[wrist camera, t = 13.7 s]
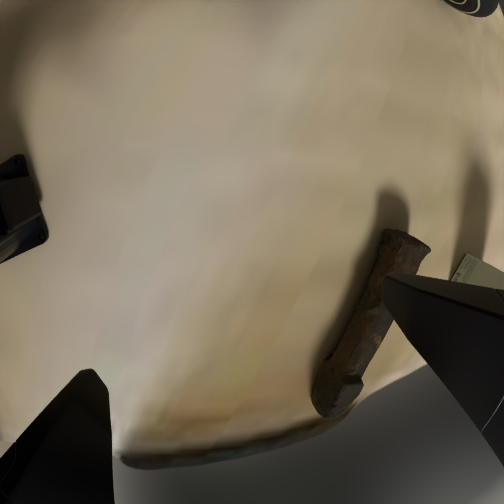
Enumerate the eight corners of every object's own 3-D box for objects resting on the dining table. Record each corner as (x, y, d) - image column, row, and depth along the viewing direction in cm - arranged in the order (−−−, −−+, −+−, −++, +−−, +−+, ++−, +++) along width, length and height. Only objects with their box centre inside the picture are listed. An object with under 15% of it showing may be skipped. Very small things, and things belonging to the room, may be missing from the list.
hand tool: (378, 219, 22) (416, 237, 17) (408, 234, 23) (445, 252, 19) (287, 396, 26) (302, 430, 22) (319, 397, 28) (336, 428, 23)
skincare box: (446, 283, 26) (527, 338, 15) (466, 250, 25) (549, 297, 14) (463, 303, 28) (529, 353, 17) (480, 275, 28) (549, 318, 17)
